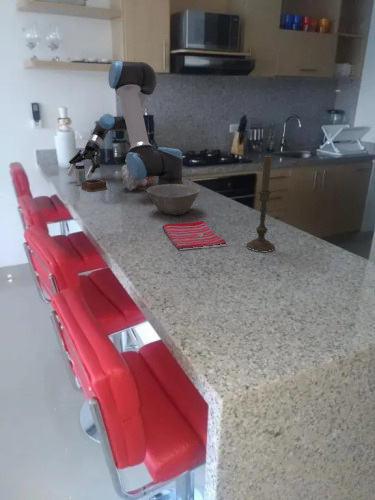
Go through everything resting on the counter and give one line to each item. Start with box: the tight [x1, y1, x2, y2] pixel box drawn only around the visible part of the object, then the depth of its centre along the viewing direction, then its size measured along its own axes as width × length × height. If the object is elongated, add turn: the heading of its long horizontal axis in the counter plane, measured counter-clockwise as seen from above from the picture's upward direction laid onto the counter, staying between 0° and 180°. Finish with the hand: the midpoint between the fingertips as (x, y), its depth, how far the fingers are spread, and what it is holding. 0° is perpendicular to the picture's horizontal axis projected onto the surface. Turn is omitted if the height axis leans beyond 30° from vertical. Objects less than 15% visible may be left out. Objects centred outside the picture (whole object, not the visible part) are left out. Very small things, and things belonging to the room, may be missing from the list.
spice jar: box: [75, 162, 87, 187], centre depth 213 cm, size 5×5×12 cm
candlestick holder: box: [246, 155, 276, 251], centre depth 121 cm, size 9×9×30 cm
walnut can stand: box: [80, 178, 108, 193], centre depth 205 cm, size 10×10×4 cm
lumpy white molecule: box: [121, 159, 158, 192], centre depth 208 cm, size 20×18×25 cm
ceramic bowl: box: [146, 183, 201, 216], centre depth 163 cm, size 22×23×10 cm
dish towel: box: [162, 220, 227, 250], centre depth 136 cm, size 17×24×3 cm
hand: (78, 176), depth 212 cm, fingers open, 13 cm apart
